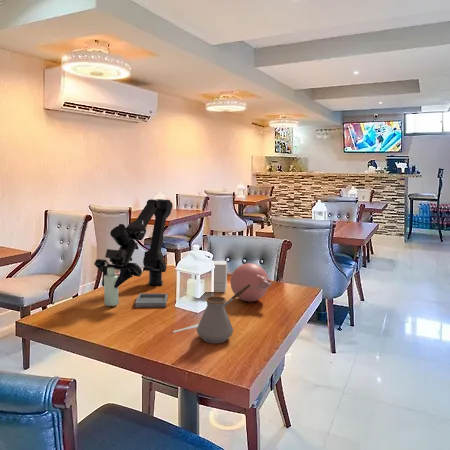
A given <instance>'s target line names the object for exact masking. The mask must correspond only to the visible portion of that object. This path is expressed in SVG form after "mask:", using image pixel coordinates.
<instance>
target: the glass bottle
mask: <svg viewBox="0 0 450 450" xmlns="http://www.w3.org/2000/svg"><path fill="white" fill-rule="evenodd" d="M118 277H119V275H118V274H117V273H116V272H115V269H114V267H108V268H107V275H104V286H103V290H104V293H103V295H104V296H103V297H104V300H103V301H104V305H105V306H107V307H113V306H117V305H119V303H120V302H119V301H120V299H119V286H118V287H117V288H115V287H114V286H115V283H116V281H117V279H118Z"/></svg>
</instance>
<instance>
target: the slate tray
mask: <svg viewBox="0 0 450 450" xmlns="http://www.w3.org/2000/svg"><path fill="white" fill-rule="evenodd" d="M168 295H169V294H168V293H138V296H137V298H136V299H135V302H134V308H166V307H167V302H168V297H169V296H168Z"/></svg>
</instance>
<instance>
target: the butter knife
mask: <svg viewBox="0 0 450 450" xmlns="http://www.w3.org/2000/svg"><path fill="white" fill-rule="evenodd" d="M198 325H199V323H196V324H192V325H190V326H189V325H188V326H187V327H184V328H180V329H179V328H178V329H176V330H173V331H172V333H173V334H175V333H179V332H182V331H186V330H192V329H197V327H198Z"/></svg>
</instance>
